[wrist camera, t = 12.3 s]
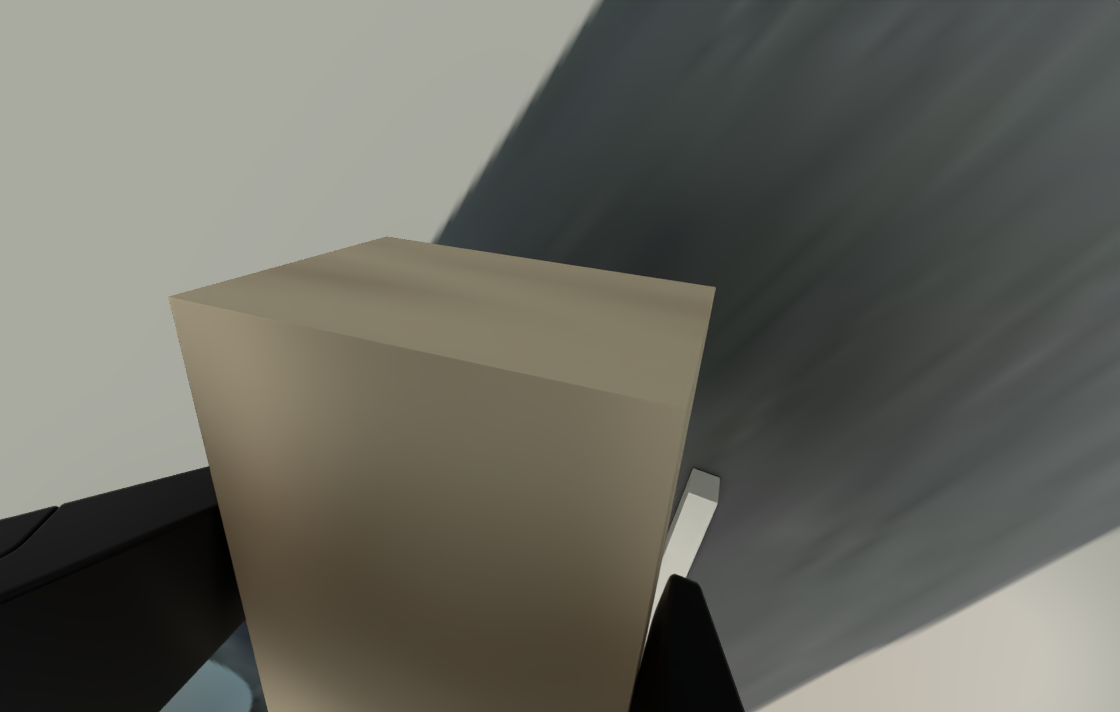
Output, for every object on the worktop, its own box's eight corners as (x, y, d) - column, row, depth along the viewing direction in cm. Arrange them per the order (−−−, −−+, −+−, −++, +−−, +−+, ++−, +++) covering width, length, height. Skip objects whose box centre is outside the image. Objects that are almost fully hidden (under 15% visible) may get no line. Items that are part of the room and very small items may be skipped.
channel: (634, 680, 24) (628, 711, 23) (460, 600, 26) (445, 625, 25) (720, 477, 19) (717, 503, 18) (495, 396, 21) (477, 413, 20)
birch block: (643, 654, 10) (593, 892, 7) (407, 572, 11) (275, 739, 8) (715, 286, 7) (686, 408, 4) (386, 236, 8) (168, 296, 5)
